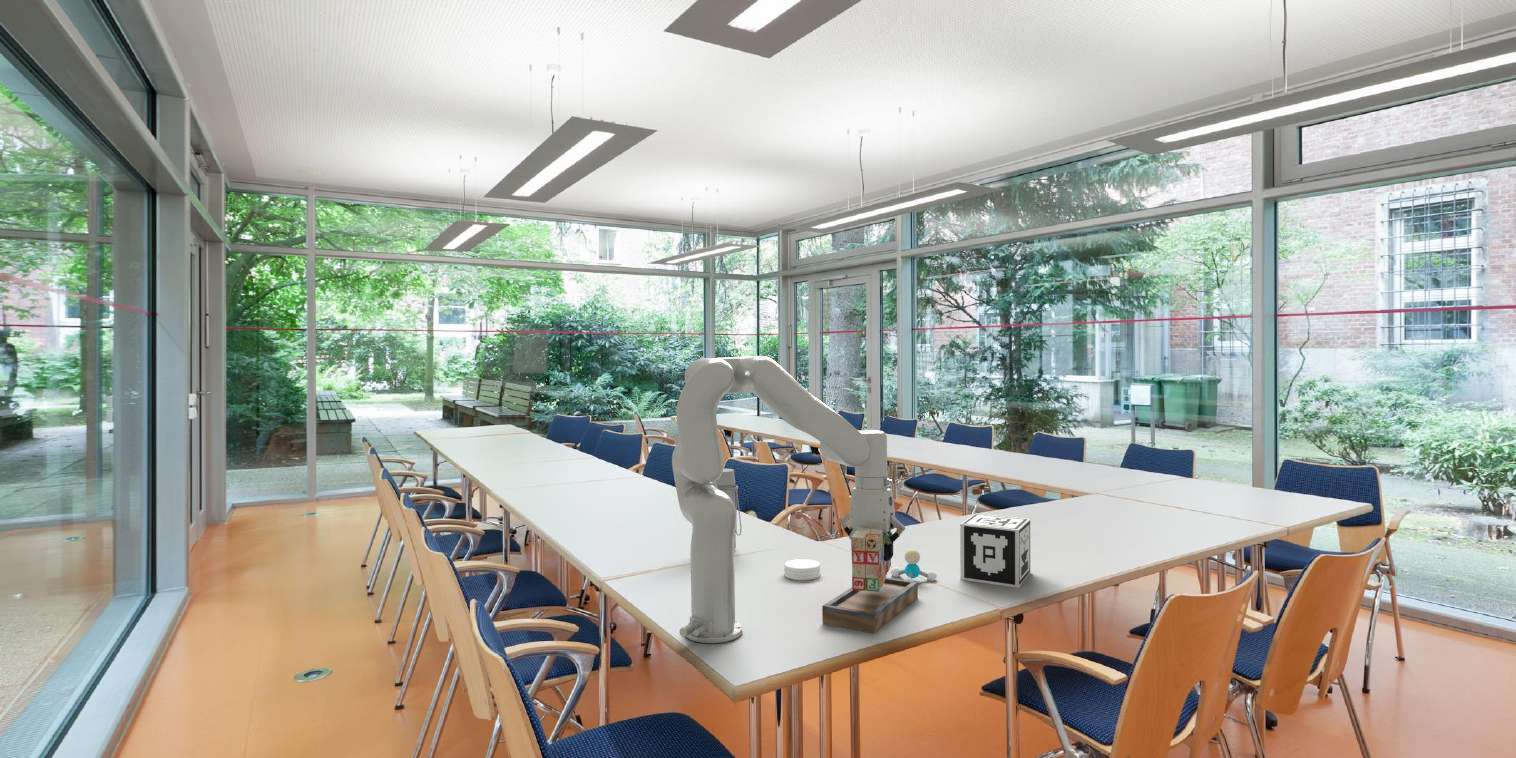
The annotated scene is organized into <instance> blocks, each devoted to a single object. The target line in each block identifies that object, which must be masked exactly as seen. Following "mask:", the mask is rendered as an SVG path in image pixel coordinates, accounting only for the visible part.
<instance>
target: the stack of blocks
mask: <svg viewBox="0 0 1516 758" xmlns="http://www.w3.org/2000/svg"><path fill="white" fill-rule="evenodd" d="M884 544H886V541H885V539H884V535H883V530H877V529H869V528H861V527H858V529H857V530H856V532H855V533H854V534H853V536H852V551H851V570H852V572H851V587H852V590H860V591H874V592H879V591H880V589H881V587H882V586H883V583H884V581H885V578H886V577H887V574H888V573H889V570H891V567H892V558H891V559H890V560H888V561H885V560H884Z"/></svg>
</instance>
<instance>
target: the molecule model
mask: <svg viewBox="0 0 1516 758" xmlns="http://www.w3.org/2000/svg"><path fill="white" fill-rule="evenodd" d="M904 560H905V562H906V563H907V564H906V565H905V568H904V569H902V570H901V569H900V568H899V567H897V566H893V567H892V568H890V574H891V577H894V578H898V577H900V576H901V575H904V574H905V575H906V576H907V577H905V578H904V579H903V580H907V581H913V582H915V581H914V579H916V578H918V577H919V576H922V577H925V578H926V580H927V581H929V582H934V581H936V580H937V577H938V576H937V573H936V572H935V571H933V570H929V571H927V573H926V572H925V571H922V570H921V569H920V566H919V564H918V563H919V562H920V560H921V555H920V552H919V551H918V550H916V549H915V548H914V549H913V548H909V549H908V550H906V551H905V554H904Z"/></svg>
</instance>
